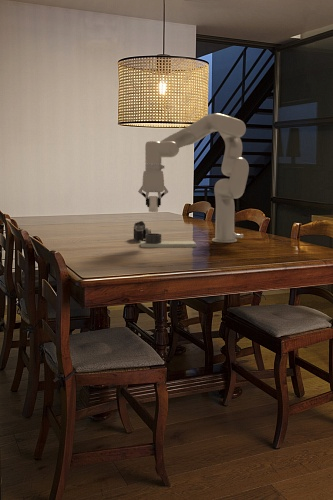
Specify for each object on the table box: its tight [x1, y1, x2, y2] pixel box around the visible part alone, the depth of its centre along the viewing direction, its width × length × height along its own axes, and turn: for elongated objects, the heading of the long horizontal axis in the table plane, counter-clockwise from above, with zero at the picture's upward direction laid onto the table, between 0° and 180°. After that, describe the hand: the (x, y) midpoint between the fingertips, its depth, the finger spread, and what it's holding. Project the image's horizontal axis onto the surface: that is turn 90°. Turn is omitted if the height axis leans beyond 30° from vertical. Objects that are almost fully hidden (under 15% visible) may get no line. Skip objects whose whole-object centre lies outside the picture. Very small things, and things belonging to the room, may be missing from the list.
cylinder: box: [148, 195, 159, 213], centre depth 270 cm, size 4×4×7 cm
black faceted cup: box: [144, 232, 162, 244], centre depth 272 cm, size 8×8×4 cm
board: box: [140, 240, 197, 248], centre depth 273 cm, size 26×10×2 cm, turn 94°
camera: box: [133, 220, 152, 243], centre depth 291 cm, size 16×8×10 cm, turn 10°
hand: (153, 206), depth 270 cm, fingers closed on cylinder, 4 cm apart
